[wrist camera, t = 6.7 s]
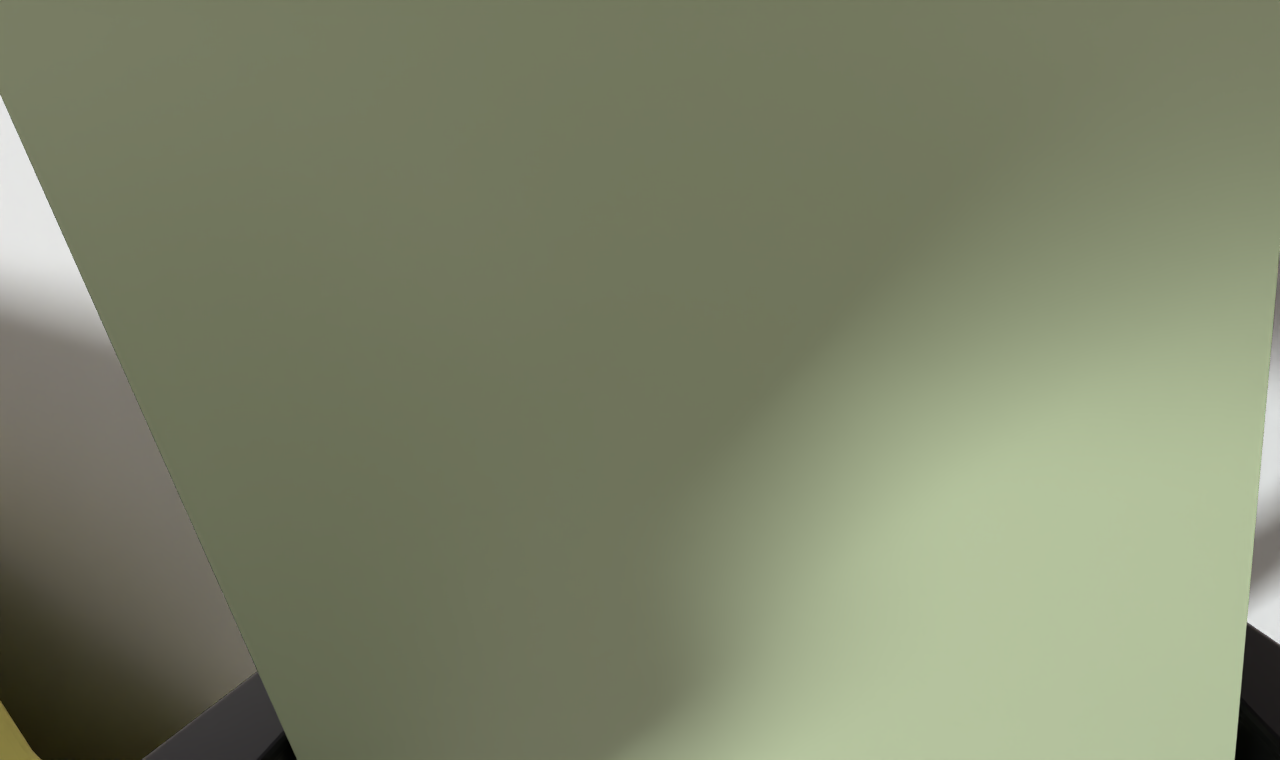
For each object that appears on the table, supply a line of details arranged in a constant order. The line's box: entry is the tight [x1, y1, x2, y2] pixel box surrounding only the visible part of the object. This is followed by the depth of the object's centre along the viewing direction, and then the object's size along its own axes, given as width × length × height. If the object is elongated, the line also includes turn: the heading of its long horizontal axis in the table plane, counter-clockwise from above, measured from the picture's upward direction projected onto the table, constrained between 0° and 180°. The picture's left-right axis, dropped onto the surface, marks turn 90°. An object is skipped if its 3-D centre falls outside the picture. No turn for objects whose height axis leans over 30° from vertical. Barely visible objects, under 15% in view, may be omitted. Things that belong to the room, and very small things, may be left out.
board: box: [0, 0, 1280, 760], centre depth 9 cm, size 6×12×4 cm, turn 11°
